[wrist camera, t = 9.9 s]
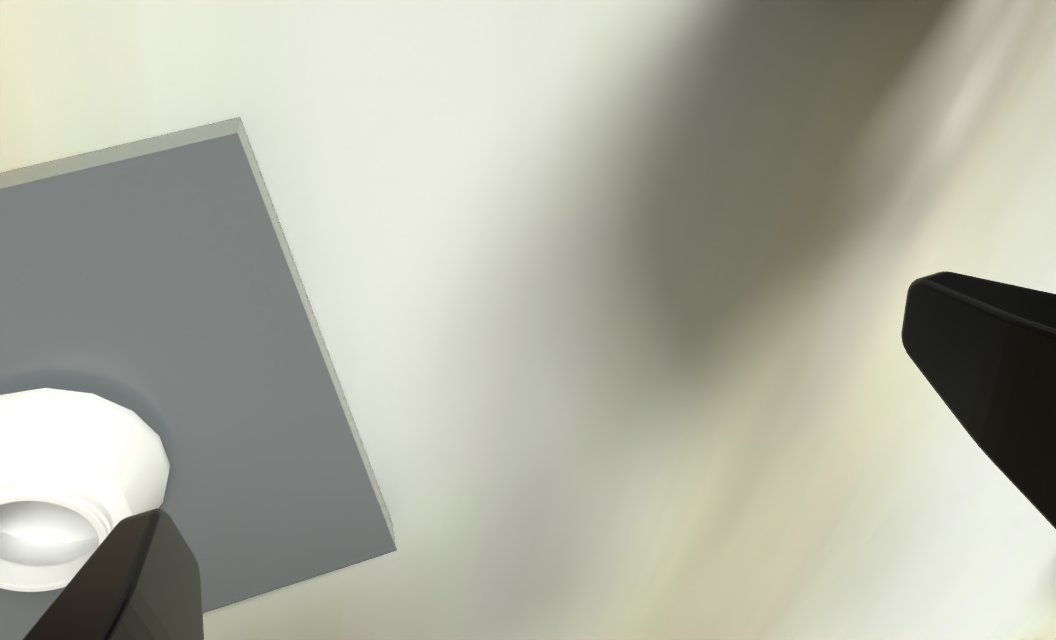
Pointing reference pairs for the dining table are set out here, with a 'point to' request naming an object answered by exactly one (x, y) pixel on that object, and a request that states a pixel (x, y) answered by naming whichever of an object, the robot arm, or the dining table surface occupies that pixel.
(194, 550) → the coaster
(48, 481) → the white jar
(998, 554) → the dining table surface
